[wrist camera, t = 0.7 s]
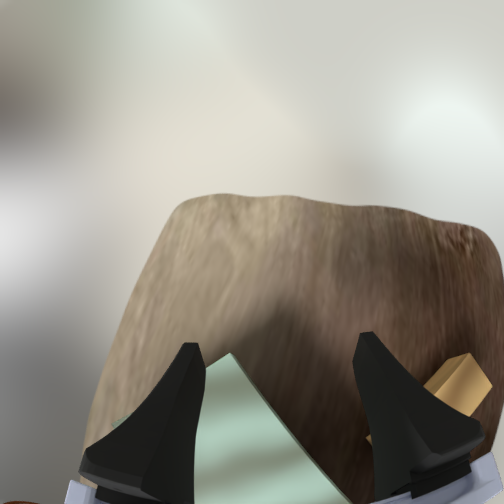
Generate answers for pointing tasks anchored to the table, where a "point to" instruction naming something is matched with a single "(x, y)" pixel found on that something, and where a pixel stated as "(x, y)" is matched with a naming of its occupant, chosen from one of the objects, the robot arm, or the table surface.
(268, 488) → the socket shed
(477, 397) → the peg
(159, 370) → the table surface
